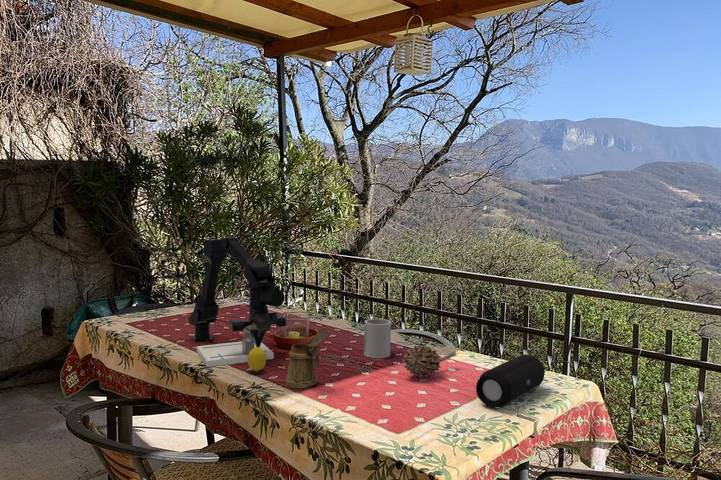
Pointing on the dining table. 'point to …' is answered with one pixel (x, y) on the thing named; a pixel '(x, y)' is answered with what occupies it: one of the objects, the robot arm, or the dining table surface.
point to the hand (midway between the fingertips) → (257, 347)
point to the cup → (377, 338)
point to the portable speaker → (510, 380)
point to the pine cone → (424, 360)
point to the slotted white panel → (227, 353)
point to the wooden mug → (304, 362)
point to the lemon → (256, 359)
